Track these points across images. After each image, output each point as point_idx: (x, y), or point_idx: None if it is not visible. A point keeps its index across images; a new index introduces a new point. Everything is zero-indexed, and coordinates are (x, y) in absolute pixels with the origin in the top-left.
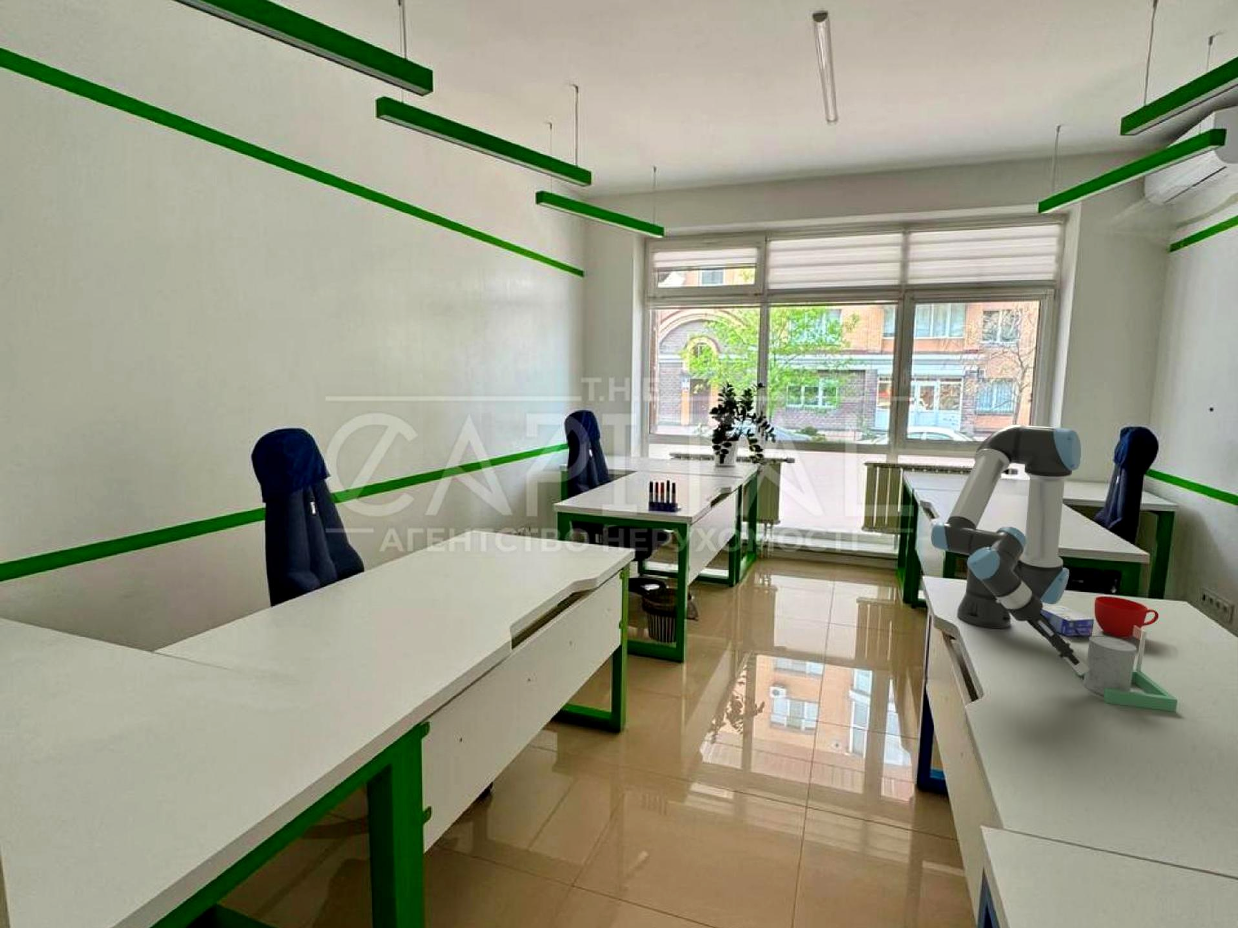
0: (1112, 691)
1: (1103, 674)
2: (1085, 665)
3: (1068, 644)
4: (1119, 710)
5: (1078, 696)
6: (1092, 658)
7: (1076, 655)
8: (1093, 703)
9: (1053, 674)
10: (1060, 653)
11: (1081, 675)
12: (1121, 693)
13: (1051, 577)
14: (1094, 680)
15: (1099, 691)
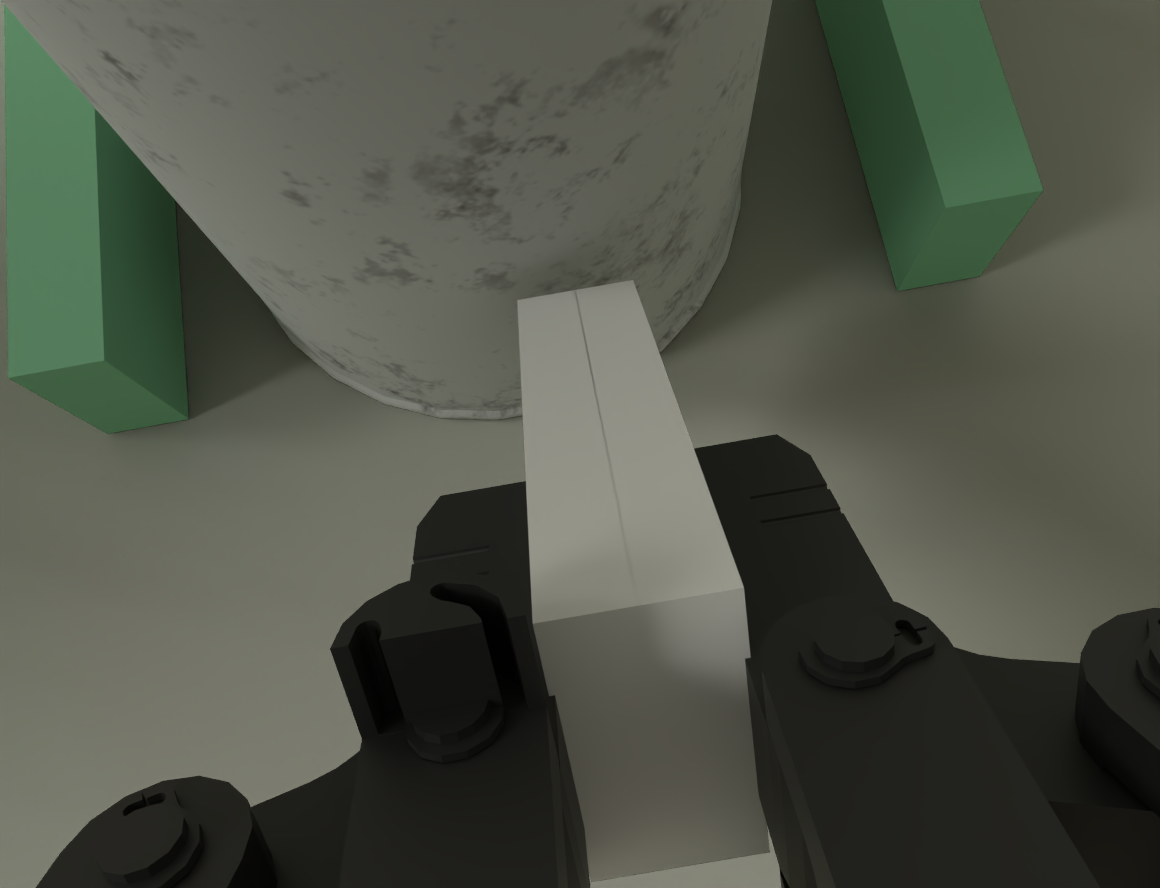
0: (1007, 134)
1: (735, 112)
2: (651, 333)
3: (485, 647)
4: (1137, 183)
5: (965, 583)
6: (551, 130)
7: (700, 474)
8: (1104, 437)
9: (260, 767)
10: (598, 869)
11: (182, 380)
12: (986, 39)
13: None
14: (655, 282)
15: (702, 280)
